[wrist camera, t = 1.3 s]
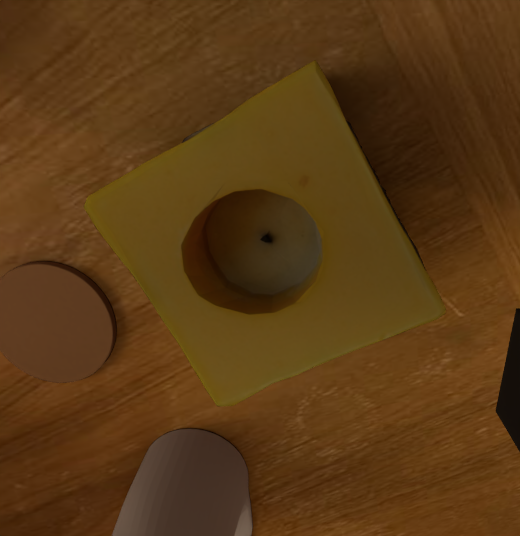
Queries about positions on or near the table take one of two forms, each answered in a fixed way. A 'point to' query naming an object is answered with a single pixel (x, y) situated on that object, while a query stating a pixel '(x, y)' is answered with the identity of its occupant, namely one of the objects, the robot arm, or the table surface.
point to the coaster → (54, 322)
